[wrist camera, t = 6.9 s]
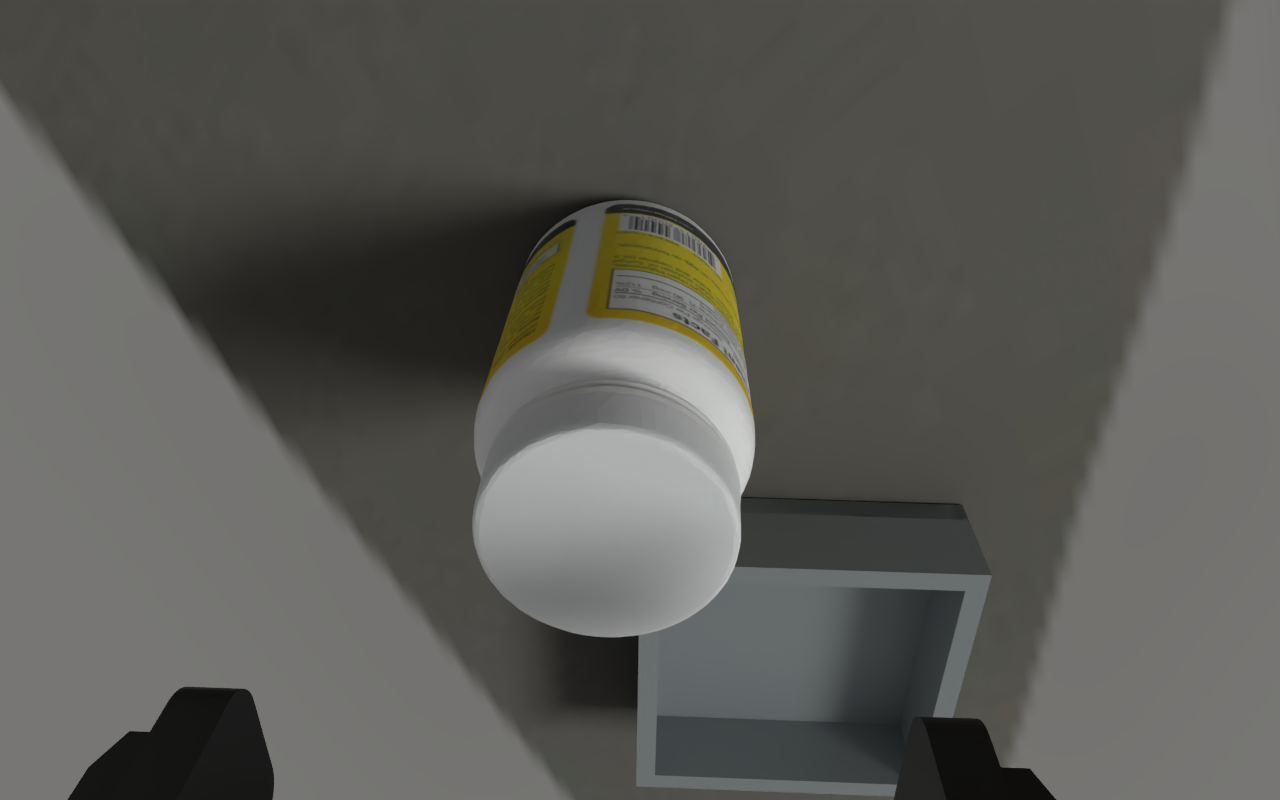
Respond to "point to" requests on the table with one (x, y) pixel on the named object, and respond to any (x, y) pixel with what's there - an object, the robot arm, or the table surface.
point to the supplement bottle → (615, 426)
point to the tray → (814, 650)
